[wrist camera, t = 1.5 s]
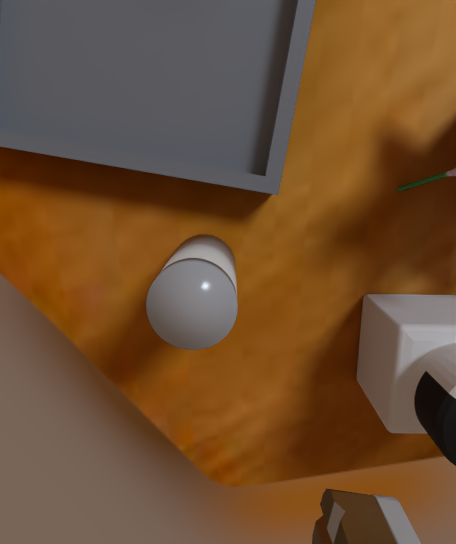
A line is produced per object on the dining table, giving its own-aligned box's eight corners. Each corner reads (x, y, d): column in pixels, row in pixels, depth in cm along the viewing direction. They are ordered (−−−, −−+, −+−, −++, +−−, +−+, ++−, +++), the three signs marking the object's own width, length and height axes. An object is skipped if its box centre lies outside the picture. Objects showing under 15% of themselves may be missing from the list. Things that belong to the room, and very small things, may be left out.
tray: (322, -66, 26) (334, -96, 23) (273, 193, 30) (277, 194, 27) (-1, -129, 26) (-31, -168, 23) (-12, 143, 29) (-39, 139, 26)
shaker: (240, 240, 30) (244, 270, 21) (229, 300, 32) (229, 356, 22) (177, 229, 30) (152, 255, 21) (168, 290, 31) (140, 342, 22)
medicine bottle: (446, 381, 33) (564, 495, 21) (354, 380, 33) (422, 493, 21) (458, 293, 31) (594, 364, 20) (362, 292, 31) (440, 362, 20)
